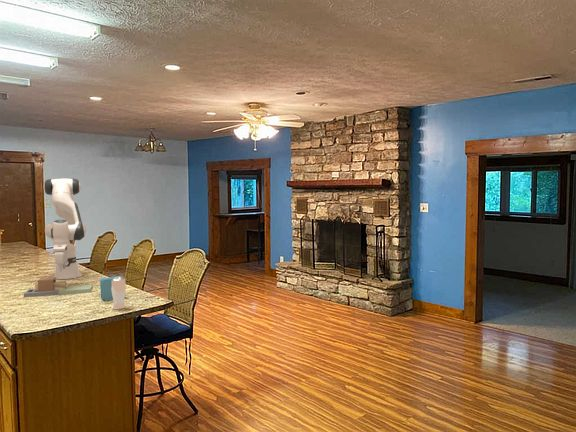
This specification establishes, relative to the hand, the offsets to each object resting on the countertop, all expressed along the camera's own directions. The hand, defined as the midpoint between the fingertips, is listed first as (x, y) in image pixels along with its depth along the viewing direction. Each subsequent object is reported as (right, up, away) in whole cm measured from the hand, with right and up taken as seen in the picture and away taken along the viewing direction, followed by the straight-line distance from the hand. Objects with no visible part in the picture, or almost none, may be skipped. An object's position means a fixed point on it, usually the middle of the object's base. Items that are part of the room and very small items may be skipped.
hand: (62, 270), depth 268 cm
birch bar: (-6, -12, -1) cm, 13 cm away
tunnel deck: (-2, -13, 0) cm, 13 cm away
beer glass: (+48, -15, -37) cm, 62 cm away
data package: (+37, -14, -17) cm, 43 cm away
